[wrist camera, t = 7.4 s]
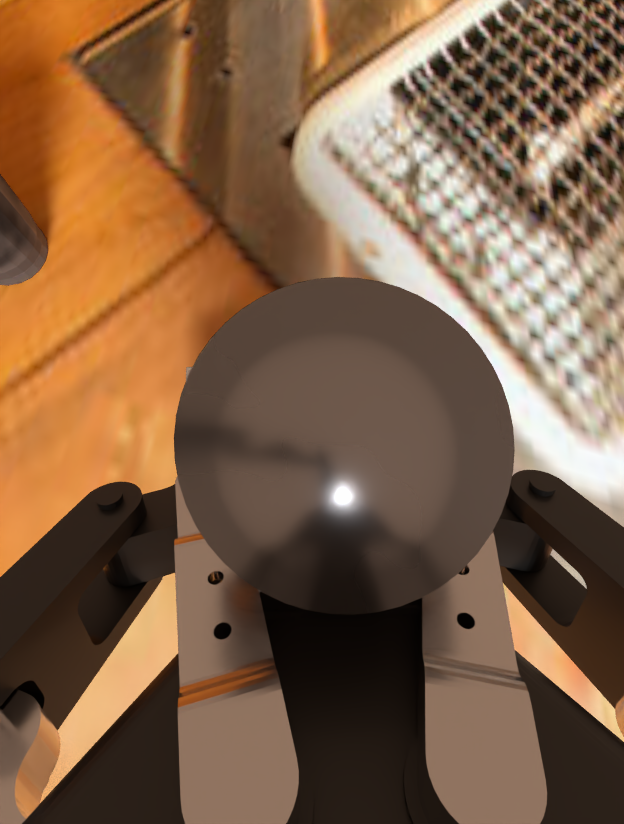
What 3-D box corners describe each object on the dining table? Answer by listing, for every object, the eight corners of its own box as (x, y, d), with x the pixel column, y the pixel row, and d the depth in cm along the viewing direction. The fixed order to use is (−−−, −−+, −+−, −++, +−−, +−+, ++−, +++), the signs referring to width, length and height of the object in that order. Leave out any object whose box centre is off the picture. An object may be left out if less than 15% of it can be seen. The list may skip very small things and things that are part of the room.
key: (264, 540, 19) (168, 622, 5) (263, 437, 20) (180, 280, 6) (367, 536, 19) (536, 608, 5) (361, 434, 20) (493, 274, 6)
